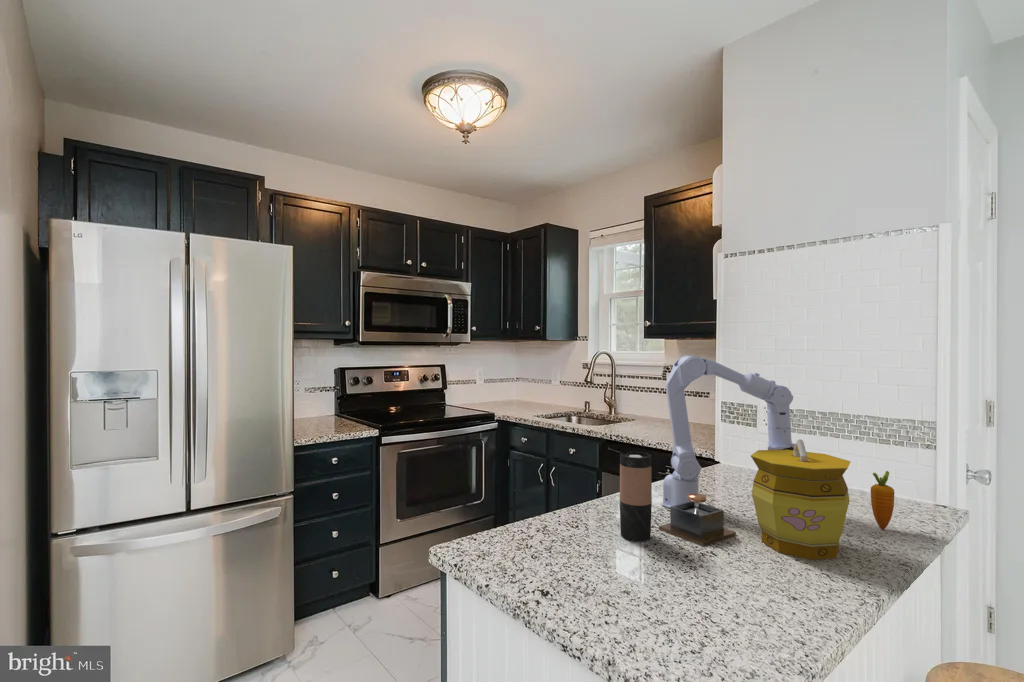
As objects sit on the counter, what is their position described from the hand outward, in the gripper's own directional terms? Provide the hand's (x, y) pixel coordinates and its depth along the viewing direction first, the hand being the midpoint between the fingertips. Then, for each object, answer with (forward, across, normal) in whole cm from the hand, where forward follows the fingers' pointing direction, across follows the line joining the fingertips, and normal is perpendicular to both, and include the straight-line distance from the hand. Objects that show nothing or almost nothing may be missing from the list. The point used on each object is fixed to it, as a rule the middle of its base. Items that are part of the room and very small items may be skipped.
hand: (781, 475), depth 141 cm
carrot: (+12, +4, -22) cm, 25 cm away
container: (+10, -24, -10) cm, 28 cm away
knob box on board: (+9, -32, +11) cm, 35 cm away
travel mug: (+8, -46, +20) cm, 51 cm away
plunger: (+5, -32, +10) cm, 34 cm away
